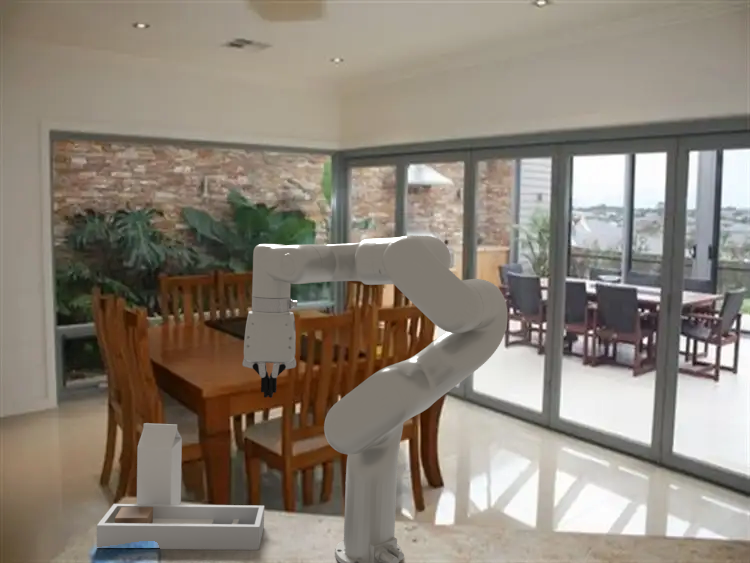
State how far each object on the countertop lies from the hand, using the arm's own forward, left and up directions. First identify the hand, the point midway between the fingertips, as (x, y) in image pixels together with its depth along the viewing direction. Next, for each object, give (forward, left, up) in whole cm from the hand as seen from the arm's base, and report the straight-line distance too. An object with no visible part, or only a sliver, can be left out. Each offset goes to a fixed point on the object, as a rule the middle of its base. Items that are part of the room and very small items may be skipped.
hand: (268, 395), depth 139 cm
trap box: (+4, +16, -27) cm, 32 cm away
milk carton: (+18, +16, -27) cm, 36 cm away
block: (+9, +24, -25) cm, 36 cm away
